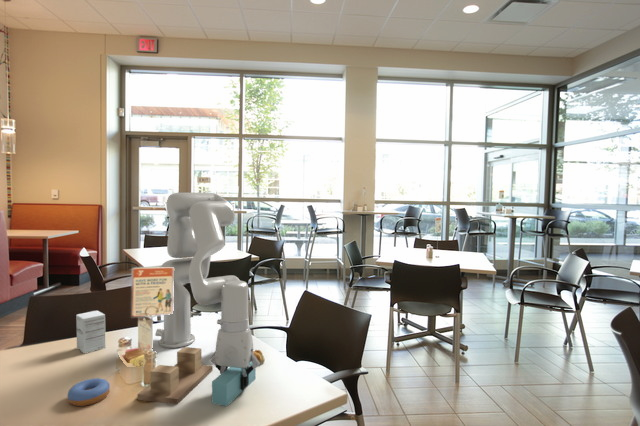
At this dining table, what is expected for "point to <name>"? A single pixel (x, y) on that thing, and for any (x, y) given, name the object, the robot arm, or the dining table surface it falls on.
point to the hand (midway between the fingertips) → (235, 386)
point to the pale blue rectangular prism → (229, 385)
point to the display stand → (176, 378)
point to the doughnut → (88, 392)
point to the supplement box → (90, 331)
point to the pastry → (259, 356)
